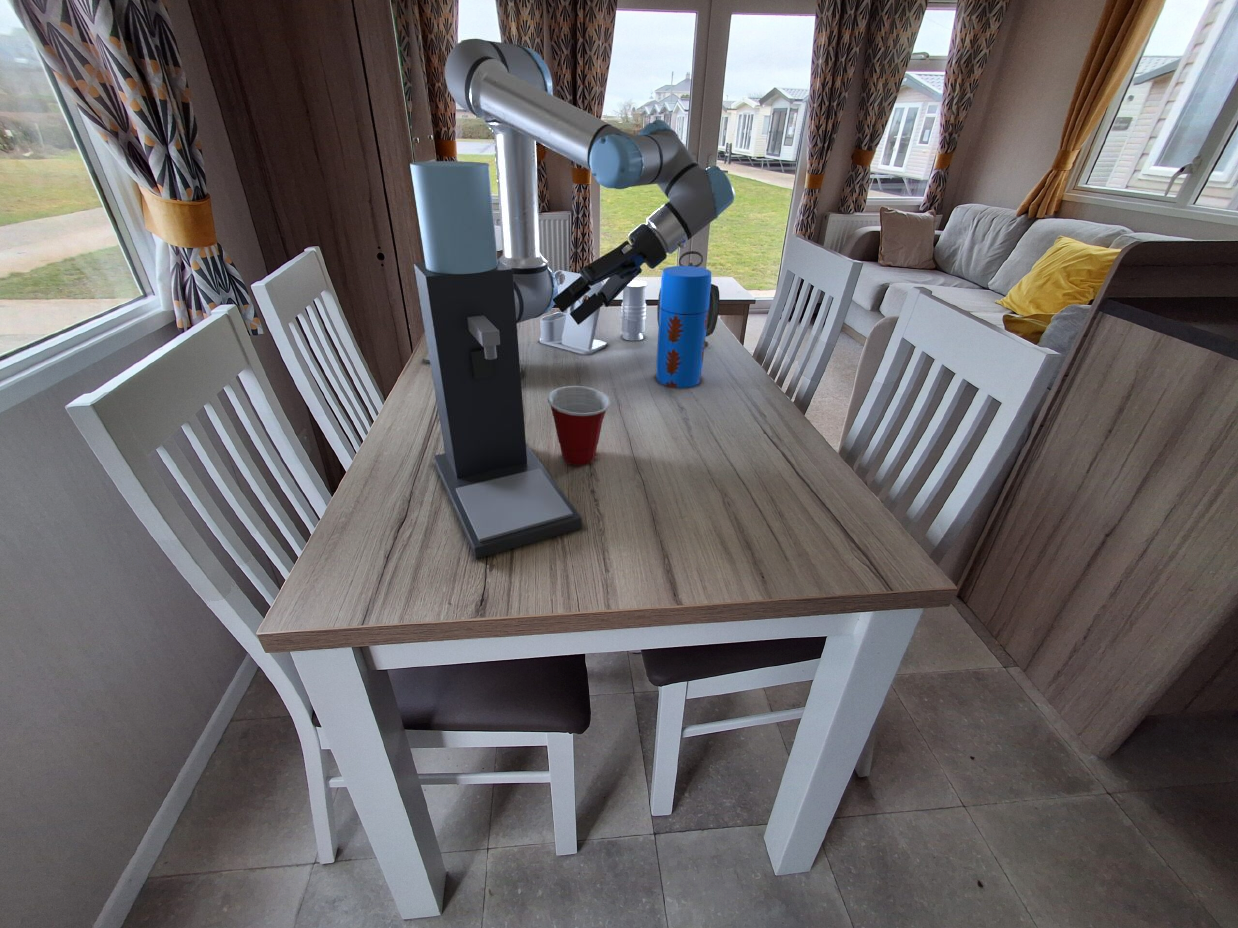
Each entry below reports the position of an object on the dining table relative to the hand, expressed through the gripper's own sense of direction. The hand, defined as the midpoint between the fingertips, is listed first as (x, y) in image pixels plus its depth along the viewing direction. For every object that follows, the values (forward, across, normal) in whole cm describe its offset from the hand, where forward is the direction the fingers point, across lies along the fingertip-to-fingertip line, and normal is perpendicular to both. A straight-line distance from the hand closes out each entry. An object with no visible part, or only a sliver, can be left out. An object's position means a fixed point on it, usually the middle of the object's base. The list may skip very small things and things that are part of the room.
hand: (565, 313), depth 105 cm
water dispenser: (+25, -18, -21) cm, 37 cm away
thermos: (-10, +31, -21) cm, 39 cm away
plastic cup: (+13, -5, -24) cm, 28 cm away
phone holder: (+7, +48, +6) cm, 49 cm away
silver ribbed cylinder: (-7, +56, -1) cm, 57 cm away
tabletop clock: (-16, +52, -13) cm, 56 cm away
